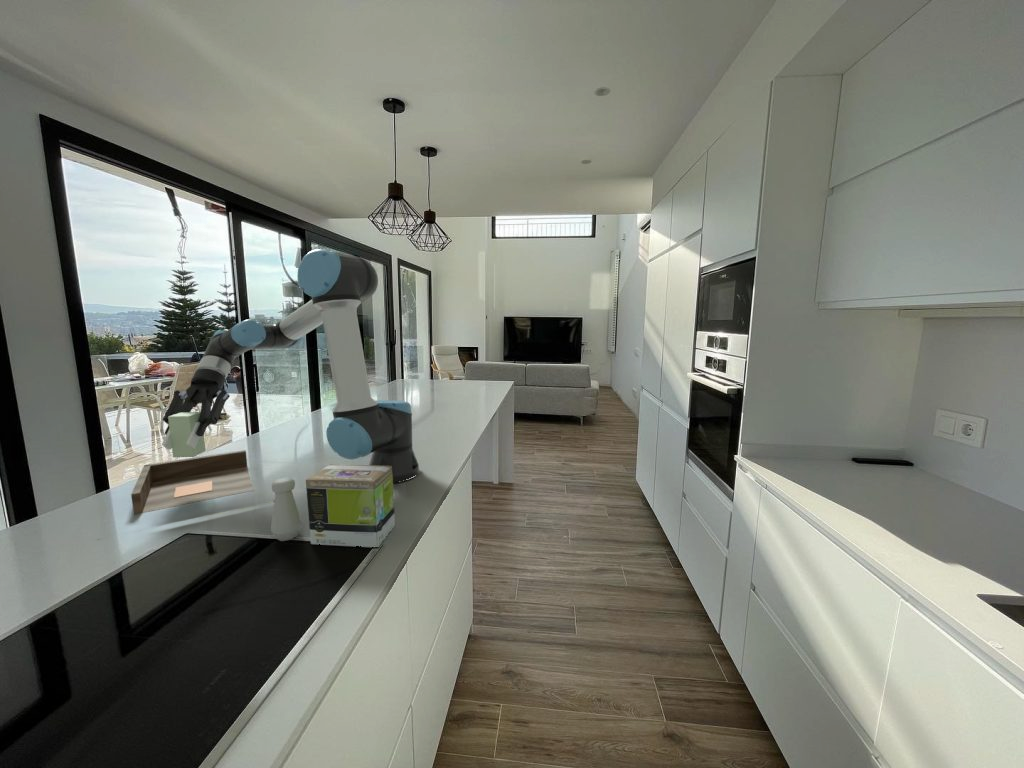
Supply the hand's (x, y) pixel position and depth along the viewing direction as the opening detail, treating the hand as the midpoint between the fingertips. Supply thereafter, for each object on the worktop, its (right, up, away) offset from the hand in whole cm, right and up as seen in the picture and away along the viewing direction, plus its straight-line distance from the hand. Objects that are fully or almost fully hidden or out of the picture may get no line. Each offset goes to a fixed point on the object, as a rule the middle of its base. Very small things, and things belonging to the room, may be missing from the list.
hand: (178, 446), depth 105 cm
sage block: (0, -3, +4) cm, 5 cm away
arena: (-1, -13, +8) cm, 15 cm away
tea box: (+51, -17, -15) cm, 56 cm away
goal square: (0, -12, +6) cm, 14 cm away
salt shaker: (+37, -17, -16) cm, 44 cm away
